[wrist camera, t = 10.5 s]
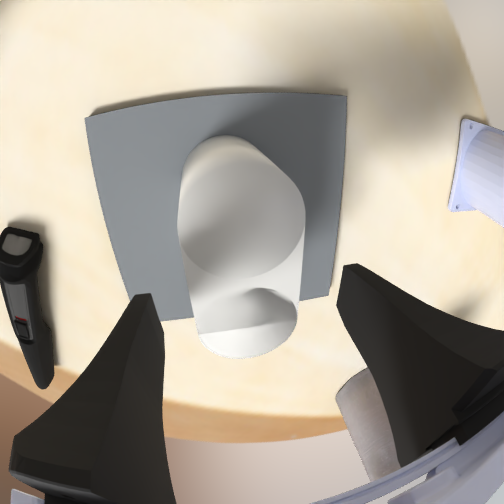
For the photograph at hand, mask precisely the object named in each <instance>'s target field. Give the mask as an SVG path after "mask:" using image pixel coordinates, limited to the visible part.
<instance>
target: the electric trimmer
mask: <svg viewBox="0 0 504 504" xmlns="http://www.w3.org/2000/svg"><path fill="white" fill-rule="evenodd" d="M42 254H43V244H42V243H41V242H40V238H39V234H37V233H34V232H29V231H25V230H21V229H17V228H13V227H7V228H5V229H4V230H3V231H2V233H1V235H0V285H1V289H2V293H3V297H4V300H5V304H6V307H7V311H8V314H9V317H10V320H11V324H12V326H13V329H14V332H15V334H16V336H17V338H18V340H19V343H20V346H21V349H22V351H23V354H24V357H25V359H26V362H27V364H28V367H29V369H30V371H31V374H32V376H33V378H34V381H35V383H36V385H37V386H38V387H39V388H40V389H46V388H47V387H48V386H49V385H50V383H51V381H52V380H53V377H54V361H53V347H52V335H51V330H50V329H49V328H48V327H47V326H46V324H45V323H44V322H43V319H42V312H41V306H40V299H39V290H38V281H37V272H38V269H39V266H40V263H41V259H42Z"/></svg>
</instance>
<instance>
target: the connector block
mask: <svg viewBox="0 0 504 504" xmlns="http://www.w3.org/2000/svg"><path fill="white" fill-rule="evenodd" d="M177 229H178V237H179V243H180V248H181V254H182V259H183V265H184V270H185V275H186V280H187V285H188V290H189V295H190V300H191V304H192V309H193V314H194V318H195V323H196V327H197V331H198V335H199V338H200V340H201V342H202V343H203V345H204V346H205V347H206V348H207V349H208V350H210V351H211V352H213V353H215V354H217V355H220V356H223V357H227V358H236V359H242V358H251V357H256V356H259V355H263V354H265V353H268V352H270V351H272V350H274V349H275V348H277V347H278V346H280V345H281V344H282V343H283V342H285V341H286V340H287V339H288V337H289V336H290V335H291V334H292V332H293V330H294V328H295V326H296V323H297V316H298V306H299V296H300V285H301V274H302V261H303V248H304V234H305V205H304V201H303V198H302V195H301V193H300V191H299V189H298V188H297V186H296V185H295V183H294V182H293V181H292V180H291V179H290V178H289V177H288V176H287V175H286V174H285V173H284V172H283V171H282V170H281V169H279V168H278V167H277V166H276V165H275V164H274V163H273V162H272V161H271V160H269V159H268V158H267V157H266V156H265V155H264V154H263V153H262V152H261V151H259V150H258V149H257V148H256V147H255V146H254V145H252V144H251V143H250V142H248V141H247V140H245V139H243V138H240V137H237V136H231V135H220V136H215V137H211V138H209V139H207V140H205V141H203V142H201V143H200V144H199V145H197V146H196V147H195V148H194V149H193V150H192V151H191V153H190V154H189V155H188V157H187V159H186V161H185V164H184V167H183V171H182V180H181V189H180V198H179V208H178V220H177Z"/></svg>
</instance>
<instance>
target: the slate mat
mask: <svg viewBox="0 0 504 504" xmlns="http://www.w3.org/2000/svg"><path fill="white" fill-rule="evenodd" d="M346 108H347V96H341V95H329V94H312V93H240V94H223V95H210V96H200V97H191V98H182V99H175V100H168V101H161V102H155V103H149V104H144V105H138V106H133V107H128V108H123V109H119V110H114V111H110V112H106V113H102V114H98V115H94V116H90V117H86V118H85V124H86V131H87V138H88V144H89V150H90V156H91V161H92V167H93V172H94V177H95V181H96V186H97V191H98V195H99V199H100V203H101V207H102V211H103V215H104V219H105V223H106V227H107V230H108V234H109V237H110V241H111V244H112V248H113V251H114V254H115V258H116V261H117V264H118V267H119V270H120V273H121V276H122V279H123V282H124V285H125V288H126V291H127V293H128V296H129V299H130V301H131V300H132V298H133V297H134V295H136V294H145V293H151V295H152V298H153V301H154V304H155V308H156V311H157V314H158V317H159V320H160V321H168V320H177V319H185V318H193V317H194V314H193V309H192V304H191V300H190V295H189V290H188V285H187V280H186V275H185V270H184V265H183V259H182V254H181V248H180V243H179V237H178V229H177V220H178V208H179V198H180V189H181V180H182V171H183V167H184V164H185V161H186V159H187V157H188V155H189V154H190V153H191V151H192V150H193V149H194V148H195V147H196V146H197V145H199V144H200V143H201V142H203V141H205V140H207V139H209V138H211V137H215V136H220V135H231V136H237V137H240V138H243V139H245V140H247V141H248V142H250V143H251V144H252V145H254V146H255V147H256V148H257V149H258V150H259V151H261V152H262V153H263V154H264V155H265V156H266V157H267V158H268V159H269V160H271V161H272V162H273V163H274V164H275V165H276V166H277V167H278V168H279V169H281V170H282V171H283V172H284V173H285V174H286V175H287V176H288V177H289V178H290V179H291V180H292V181H293V182H294V183H295V185H296V186H297V188H298V189H299V191H300V193H301V195H302V198H303V201H304V205H305V234H304V248H303V261H302V274H301V285H300V296H299V301H303V300H308V299H313V298H318V297H324V296H328V295H329V289H330V283H331V276H332V270H333V263H334V255H335V248H336V240H337V232H338V224H339V214H340V205H341V194H342V183H343V170H344V155H345V137H346Z"/></svg>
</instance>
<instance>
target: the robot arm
mask: <svg viewBox="0 0 504 504" xmlns="http://www.w3.org/2000/svg"><path fill="white" fill-rule="evenodd" d="M448 209H449V210H450V211H451V212H457V211H470V210H479V211H480V212H482V213H483V214H485V215H486V216H488V217H489V218H491V219H492V220H493V221H495V222H496V223H498V224H499V225H501V226H502V227H503V228H504V131H502V130H499V129H496V128H494V127H491V126H488V125H485V124H482V123H479V122H475V121H472V120H469V119H463V120H462V122H461V131H460V140H459V148H458V155H457V162H456V168H455V174H454V180H453V185H452V190H451V195H450V199H449V204H448ZM336 306H337V308H338V311H339V314H340V316H341V318H342V321H343V323H344V326H345V328H346V329H347V331H348V333H349V335H350V336H351V338H352V340H353V342H354V343H355V345H356V347H357V349H358V350H359V352H360V354H361V356H362V357H363V359H364V361H365V363H366V364H367V366H368V368H369V370H370V372H371V374H372V376H373V378H374V381H375V383H376V386H377V388H378V391H379V393H380V396H381V399H382V401H383V404H384V407H385V410H386V413H387V416H388V420H389V423H390V427H391V430H392V434H393V439H394V443H395V448H396V453H397V459H398V462H399V464H400V467H401V469H399V470H397V471H395V472H393V473H390V474H388V475H386V476H384V477H382V478H380V479H377V480H375V481H373V482H370V483H368V484H365V485H363V486H361V487H358V488H355V489H353V490H350V491H347V492H345V493H342V494H339V495H336V496H333V497H330V498H327V499H323V500H320V501H317V502H313V503H310V504H365V503H368V502H370V501H372V500H375V499H377V498H379V497H382V496H384V495H386V494H388V493H390V492H392V491H394V490H396V489H398V488H400V487H402V486H404V485H406V484H408V483H410V482H412V481H413V480H415V479H417V478H419V477H420V476H422V475H424V474H426V473H427V472H428V474H427V477H426V480H425V481H424V482H422V483H420V484H418V485H416V486H415V487H413V488H411V489H409V490H407V491H405V492H403V493H401V494H399V495H398V496H396V497H394V498H392V499H390V500H388V504H485V503H486V502H487V501H488V500H489V499H490V497H491V496H492V495H493V494H494V493H495V492H496V491H497V489H498V488H499V487H500V486H501V485H502V483H503V482H504V331H502V330H496V329H492V328H488V327H484V326H481V325H477V324H474V323H471V322H468V321H465V320H462V319H460V318H457V317H454V316H452V315H450V314H447V313H445V312H443V311H441V310H439V309H436V308H434V307H432V306H430V305H428V304H426V303H424V302H422V301H421V300H419V299H417V298H415V297H413V296H412V295H410V294H408V293H406V292H405V291H403V290H401V289H400V288H398V287H396V286H395V285H393V284H392V283H390V282H388V281H387V280H385V279H383V278H382V277H380V276H379V275H377V274H375V273H374V272H372V271H370V270H369V269H367V268H365V267H363V266H362V265H360V264H358V263H356V264H350V265H344V266H343V272H342V278H341V283H340V289H339V294H338V299H337V304H336ZM164 364H165V346H164V331H163V328H162V326H161V323H160V320H159V317H158V314H157V311H156V308H155V304H154V301H153V298H152V295H151V293H145V294H136V295H134V297H133V298H132V300H131V301H130V303H129V304H128V306H127V308H126V309H125V311H124V313H123V314H122V316H121V318H120V319H119V321H118V322H117V324H116V326H115V327H114V329H113V330H112V332H111V333H110V335H109V337H108V338H107V340H106V341H105V343H104V344H103V345H102V347H101V348H100V350H99V351H98V353H97V354H96V356H95V357H94V358H93V360H92V361H91V363H90V364H89V365H88V367H87V368H86V369H85V370H84V372H83V373H82V374H81V375H80V376H79V378H78V379H77V380H76V381H75V382H74V383H73V384H72V385H71V386H70V388H69V389H68V390H67V391H66V392H65V393H64V394H63V395H62V396H61V397H60V398H59V399H58V400H57V401H56V402H55V403H54V404H53V405H52V406H51V407H50V408H49V409H48V410H47V411H46V412H44V413H43V414H42V415H41V416H40V417H39V418H38V419H36V420H35V421H34V422H33V423H31V424H30V425H29V426H27V427H26V428H25V429H23V430H22V431H21V432H20V433H18V434H17V435H15V436H14V440H13V445H12V451H11V457H10V464H9V472H10V474H11V475H12V476H13V477H15V478H16V479H18V480H19V481H22V482H23V483H25V484H27V485H29V486H31V487H33V488H35V489H37V490H39V491H41V492H43V493H45V500H43V499H41V498H38V497H35V496H32V495H29V494H27V493H24V492H21V491H18V490H16V489H12V492H11V504H176V500H175V496H174V492H173V487H172V483H171V478H170V473H169V467H168V461H167V455H166V448H165V441H164V430H163V419H162V401H163V381H164Z"/></svg>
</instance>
